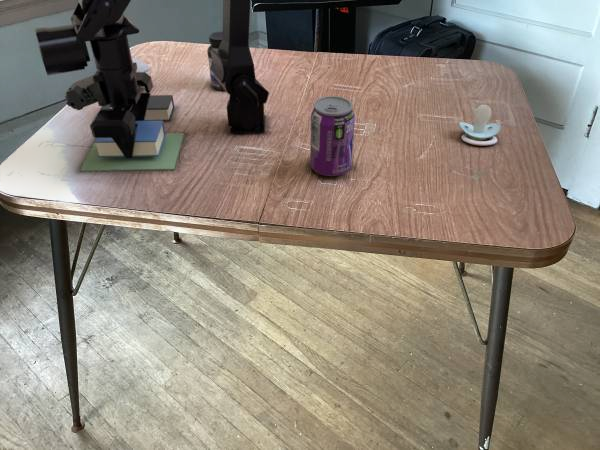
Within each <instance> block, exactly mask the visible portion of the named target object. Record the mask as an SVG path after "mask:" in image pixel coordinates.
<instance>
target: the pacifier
mask: <svg viewBox="0 0 600 450" xmlns="http://www.w3.org/2000/svg"><path fill="white" fill-rule="evenodd" d="M491 109H492V108H491V107H489V105H487V104H480V105H478V106H477V107H476V109H475V110H474V112H473V117H474V123H473V125H472V124H470V123H467V122H465V121H460V122H459V127H460V129H461V131H463V132H464V134H462V135H461V140H462V141H463V142H465V143H467V144H470V145H474V146H492V145H494V144H497V143H498V138H497V137H496V135H497V134H498V133H500V130H501V125H500V124H499V123H488V121H489V120H490V119H491V117H492V110H491ZM488 139H489V140H488Z"/></svg>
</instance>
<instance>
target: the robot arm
mask: <svg viewBox="0 0 600 450" xmlns="http://www.w3.org/2000/svg"><path fill="white" fill-rule="evenodd" d="M131 2H132V0H77V3H76V5H75V8H74V9H73V12H72V14H71V16H70V19H69V21H70V24H66V25H59V26H54V27H53V26H52V27H38V28H35V29H34V32H35V36H36V39H37V42H38V45H39V46H38V49H39V53H40V57H41V60H42V63H43V66H44V69H45V73H46V75H47V76H49V77H50V76H55V75H60V74H66V73H72V72H77V71H83V70H85V69H86V67H89V64H88V63H89V62H91V57H90V53H89V50H88V46H87V42H89V44H90V48H91V52H92V57H93V60H94V64H95V68H96V71H95V72H94V74H92V75H90V76H87V77H84V78H82V79H79V80H77V81H75V82H73V83H72V84H71V85H70V86H69V87H68V88H67V90H66V92H65V96H64V98H65V99H66V105H67V106H68V107H70V108H71V109H73V110H76V111H81V110H83V109H84V108H86V107H88V106H91V105H94V104H96V103H97V104H98V107H102V106H107V105H110V108H111V109H113V110H100V109H99V111H98V112H97V113H96V114H95V116H94V117H93V119H92V121H91V123H90V125H89V128H90V132H91V134H92V137H93V138H94V139H96V138H112V139H113V140H114V142H115V143H116V144H117V146H118V147H119V149H120V150H121V152H122V153H123V155H124V156H125V158H132V156H133V151H134V145H135V139H136V133H137V128H138V124H135V121H144V120H145V116H146V111H147V107H148V103H149V99H150V95H151V91H152V89H153V87H154V85H153V80H152V79H153V78H152V76H151V75H150V74H149V73H148V74H147V73H145V72H136V70H137V63H133V61H132V57H133V56H132V53H131V48H130V44H129V39H128V36H130V35H131V36H132V35H136V34H139V33H140V28H139V27H138V26H137V24H136V23H135V22H134V21H132V20H131V19H129V18H128V17H127V16H126V14H124V13H125V11H126V9H127V8H128V6H129V4H130V3H131ZM250 17H251V0H222V31H223V37H222V42H221V44H220V46H219V48H218V49H215V48H211V56H212V64H211V67H210V68H209V71H210V70H211V71H212V72H213V73H214V76H215V78H216V79H217V81H218V82H219V83H220V84H221V86H222V87H223V88H224V89H225V90H224V91H225V92H226V93H227V94H228V95H229V98H228V100H227V103H226V115H227V125H228V127H230V130H229V131H230V134H234V135H235V134H237V135H238V134H264V133H265V132H266V118H267V117H266V114H265V104H266V103H267V101H268V99H269V94H270V91H268V90H267V89H266V88H265V87H264V86H263V85H262V83H261V82H260V81H258V79H257V78H256V71H255V70H256V69H255V64H254V63H255V62H254V59H253V56H252V52H251V49H250V43H249V41H250V21H251V18H250ZM142 87H143V88H144V91H145V92H143V88H142Z"/></svg>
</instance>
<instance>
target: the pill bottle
mask: <svg viewBox="0 0 600 450" xmlns="http://www.w3.org/2000/svg"><path fill="white" fill-rule="evenodd" d="M222 37H223V30H219V31H214V32H211V33H210V34H209V35H208V41H209V44H210V45H209V46H208V48H207V50H206V51H207V52H206V53H207V60H208V67H209V77H210V83H211V86H212V88H213V89H215V90H218V91H226V90H225V89H224V88H223V87H222V86H221V84H220V83H219V82H218V81H217V79H216V78H215V76H214V73H213V72H212V71H211V70H210V67H211V64H212V56H211V48H215V49H218V48H219V46H220V44H221V42H222Z"/></svg>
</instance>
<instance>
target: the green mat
mask: <svg viewBox="0 0 600 450" xmlns="http://www.w3.org/2000/svg"><path fill="white" fill-rule="evenodd" d="M165 134H166V137H165V140H164V143H163V146H162V149H161V152H160V155H159V156H155V157H132V158H125V157H98V155H99V153H98V149H97V146H96V143H94V142H93V145H92V146H91V148H90V150H89V152H88V154H87V156H86V158H85V160H84V161H83V164H82V166H81V167H80V172H123V171H124V172H125V171H127V172H129V171H130V172H131V171H174V170H175V169H176V165H177V161H178V158H179V154H180V150H181V147H182V143H183V140H184V136H185V133H184V132H171V133H170V132H169V133H168V132H167V133H166V132H165Z"/></svg>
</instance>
